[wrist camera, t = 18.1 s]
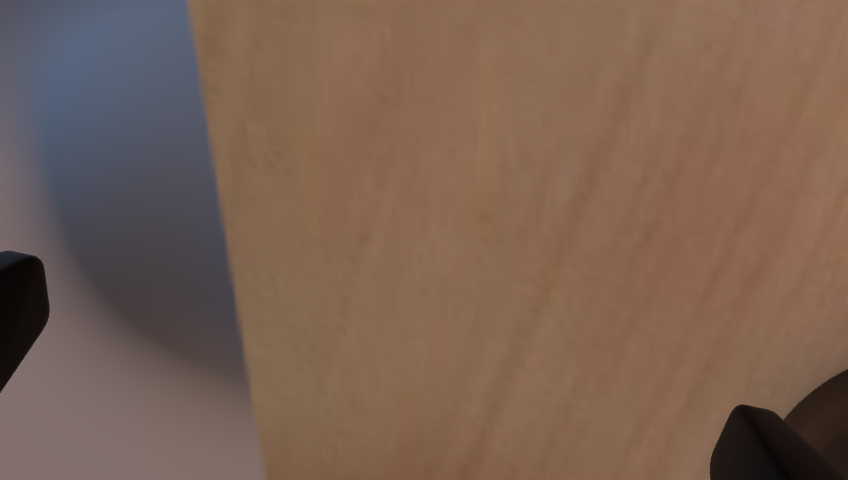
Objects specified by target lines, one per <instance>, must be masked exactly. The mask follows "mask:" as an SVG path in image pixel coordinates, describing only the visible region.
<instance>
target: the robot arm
mask: <svg viewBox="0 0 848 480" xmlns="http://www.w3.org/2000/svg"><path fill="white" fill-rule="evenodd" d="M48 317H49V300H48V292H47V285H46V277H45V269H44V265H43V263H42V261H41V260H40V259H39V258H38V257H36V256H32V255H28V254H23V253H18V252H14V251H3V252H0V393H1V391H2V389H3V388H4V387H5V385H6V384H7V382H8V381H9V379H10V378H11V376H12V375H13V373H14V372H15V370H16V369H17V367H18V366H19V365H20V363H21V362H22V360H23V359H24V357H25V355H26V354H27V353H28V351H29V350H30V348H31V347H32V345H33V344H34V342H35V341H36V339H37V338H38V337H39V335H40V334H41V332H42V330H43V329H44V327H45V326H46V323H47V321H48ZM710 478H711V480H848V478H847V477H846V476H844V475H843V474H842V473H841V472H840V471H839V470H838V469H837V468H836V467H834V466H833V465H832V464H831V463H830V462H829V461H828V460H827V459H826V458H824V457H823V456H822V455H821V454H820V453H819V452H818V451H817V450H816V449H815V448H813V447H812V446H811V445H810V444H809V443H808V442H807V441H806V440H805V439H803V438H802V437H801V436H800V435H799V434H798V433H797V432H796V431H795V430H794V429H792V428H791V427H790V426H789V425H788V424H787V423H786V422H785V421H784V420H782V419H781V418H780V417H779V416H778V415H777V414H776V413H774V412H773V411H771V410H767V409H763V408H758V407H753V406H748V405H743V404H741V405H738V406H736V407H735V408H734V409H733V410H732V412H731V414H730V416H729V418H728V420H727V422H726V424H725V426H724V429H723V431H722V433H721V435H720V437H719V440H718V442H717V444H716V446H715V448H714V451H713V453H712V457H711V462H710Z"/></svg>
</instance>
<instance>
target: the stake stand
mask: <svg viewBox="0 0 848 480" xmlns="http://www.w3.org/2000/svg"><path fill="white" fill-rule="evenodd" d="M784 421H785V422H786V423H787V424H788V425H789V426H790V427H791V428H792V429H794V430H795V431H796V432H797V433H798V434H799V435H800V436H801V437H802V438H803V439H805V440H806V441H807V442H808V443H809V444H810V445H811V446H812V447H813V448H815V449H816V450H817V451H818V452H819V453H820V454H821V455H822V456H823V457H824V458H826V459H827V460H828V461H829V462H830V463H831V464H832V465H833V466H834V467H836V468H837V469H838V470H839V471H840V472H841V473H842V474H843V475H844V476H846V477H847V478H848V370H846V371H844V372H842V373H840V374H839V375H837V376H835V377H833V378H831V379H830V380H828V381H827V382H825V383H824V384H822V385H821V386H819V387H818V388H817V389H815V390H814V391H813V392H812V393H810V394H809V395H808V396H807V397H806V398H805V399H803V400H802V401H801V402H800V403H799V404H798V405H797V406H796V407H795V408H794V409H793V410H792V411H791V412H790V413H789V415H788V416H787V417H786V418H785V419H784Z"/></svg>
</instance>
